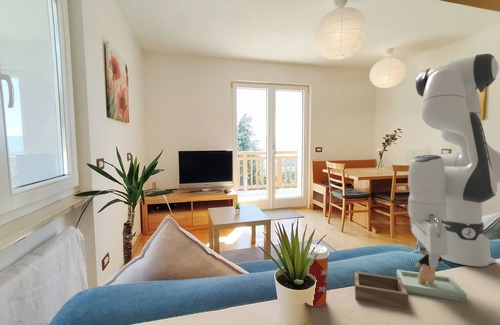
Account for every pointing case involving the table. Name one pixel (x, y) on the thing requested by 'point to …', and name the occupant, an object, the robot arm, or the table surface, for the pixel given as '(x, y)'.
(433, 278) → the grandmother figurine
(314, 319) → the table surface
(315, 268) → the red shaker can
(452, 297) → the tray
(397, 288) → the holder
